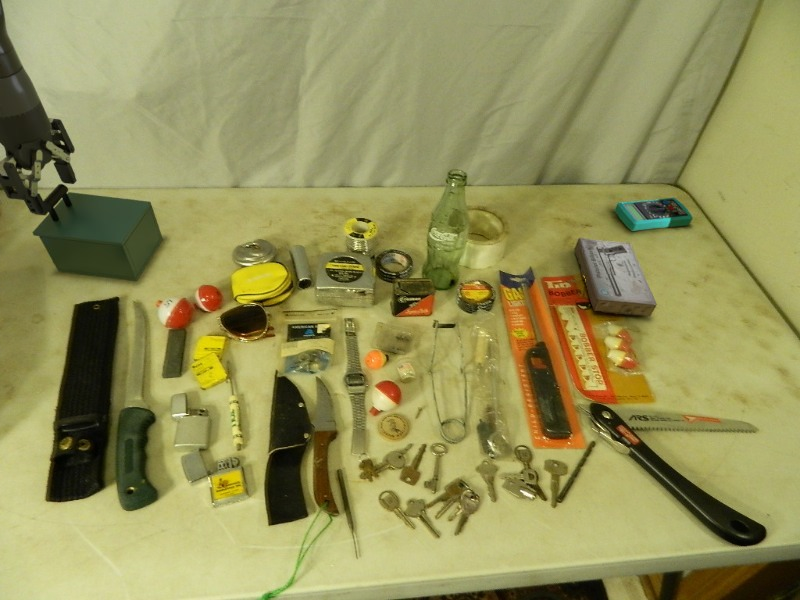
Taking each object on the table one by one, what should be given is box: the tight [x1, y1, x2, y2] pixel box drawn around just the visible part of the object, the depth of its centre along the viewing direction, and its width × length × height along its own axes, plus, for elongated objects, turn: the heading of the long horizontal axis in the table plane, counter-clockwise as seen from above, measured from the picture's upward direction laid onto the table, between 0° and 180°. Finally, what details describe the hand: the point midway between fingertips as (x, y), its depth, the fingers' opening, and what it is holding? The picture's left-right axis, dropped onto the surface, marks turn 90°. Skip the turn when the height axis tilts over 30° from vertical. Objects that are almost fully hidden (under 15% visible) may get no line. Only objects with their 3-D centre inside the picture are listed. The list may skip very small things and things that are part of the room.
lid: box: [32, 183, 152, 246], centre depth 86 cm, size 14×11×5 cm
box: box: [574, 237, 658, 318], centre depth 97 cm, size 11×17×3 cm, turn 178°
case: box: [38, 204, 164, 282], centre depth 91 cm, size 14×11×8 cm
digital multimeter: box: [614, 197, 694, 232], centre depth 112 cm, size 7×15×3 cm, turn 103°
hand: (56, 197), depth 85 cm, fingers open, 8 cm apart
